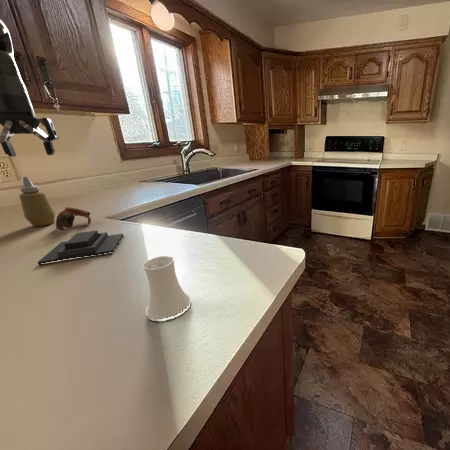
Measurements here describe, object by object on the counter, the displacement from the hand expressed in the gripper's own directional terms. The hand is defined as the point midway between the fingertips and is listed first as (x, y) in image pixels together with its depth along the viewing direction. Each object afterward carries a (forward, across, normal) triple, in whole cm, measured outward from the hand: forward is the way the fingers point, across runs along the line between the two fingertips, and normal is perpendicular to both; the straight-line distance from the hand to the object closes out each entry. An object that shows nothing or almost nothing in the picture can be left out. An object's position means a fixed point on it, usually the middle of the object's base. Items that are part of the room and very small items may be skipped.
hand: (32, 155), depth 73 cm
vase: (+26, -35, +56) cm, 71 cm away
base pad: (+26, -11, +16) cm, 32 cm away
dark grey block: (+25, -11, +16) cm, 32 cm away
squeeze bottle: (+26, +12, -19) cm, 35 cm away
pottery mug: (+26, 0, -10) cm, 28 cm away
